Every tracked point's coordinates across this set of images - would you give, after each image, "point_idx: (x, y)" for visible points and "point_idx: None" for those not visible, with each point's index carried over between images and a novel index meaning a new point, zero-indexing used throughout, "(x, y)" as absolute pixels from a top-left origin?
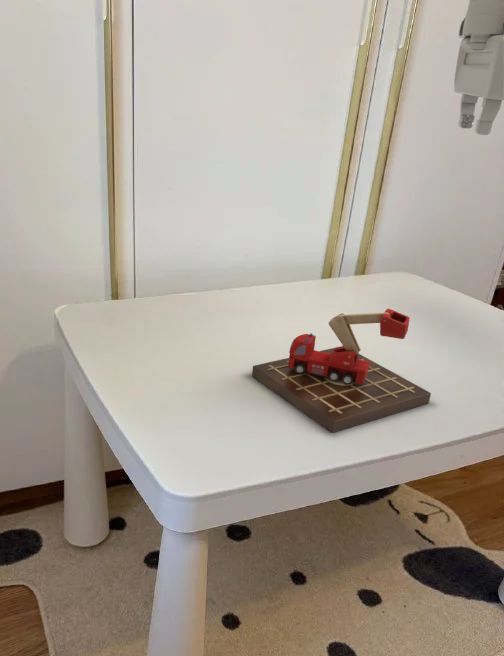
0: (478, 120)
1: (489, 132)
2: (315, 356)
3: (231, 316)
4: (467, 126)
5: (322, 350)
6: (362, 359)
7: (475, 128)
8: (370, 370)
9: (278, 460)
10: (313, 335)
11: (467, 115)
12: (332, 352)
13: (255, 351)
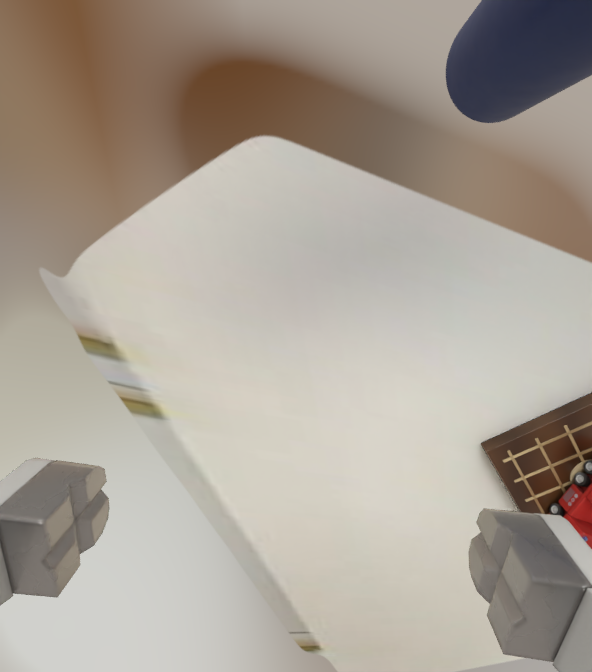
0: (544, 657)
1: (566, 522)
2: (589, 517)
3: (357, 546)
4: (96, 491)
5: (502, 478)
6: (536, 439)
7: (485, 591)
8: (571, 437)
9: None
10: (582, 535)
11: (15, 560)
12: (510, 469)
13: (468, 531)
